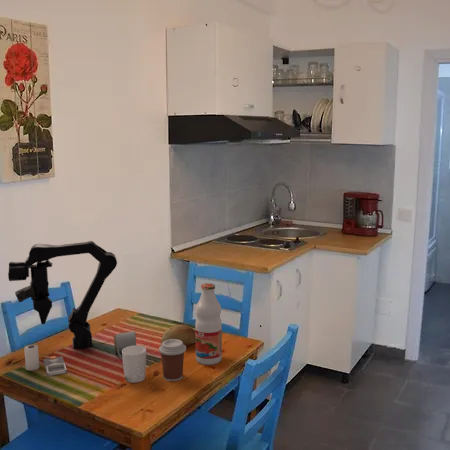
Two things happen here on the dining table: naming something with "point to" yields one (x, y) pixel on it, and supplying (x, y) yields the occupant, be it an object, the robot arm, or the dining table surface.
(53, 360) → the power strip
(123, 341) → the ceramic mug
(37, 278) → the robot arm
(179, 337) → the bread roll
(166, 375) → the coffee cup
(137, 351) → the white cup
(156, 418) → the dining table surface
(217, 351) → the fruit juice
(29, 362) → the cream cylinder
